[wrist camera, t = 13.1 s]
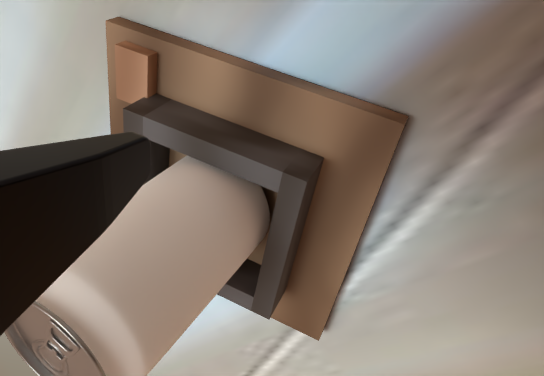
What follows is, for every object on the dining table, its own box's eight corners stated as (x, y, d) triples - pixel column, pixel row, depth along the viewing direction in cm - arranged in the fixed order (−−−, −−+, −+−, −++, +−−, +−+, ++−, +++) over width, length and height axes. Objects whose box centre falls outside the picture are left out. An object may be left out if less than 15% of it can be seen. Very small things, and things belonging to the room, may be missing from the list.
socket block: (408, 116, 20) (394, 148, 18) (323, 329, 30) (305, 371, 27) (118, 16, 24) (69, 31, 21) (124, 234, 33) (91, 263, 31)
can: (163, 191, 28) (-19, 326, 19) (206, 123, 24) (-4, 256, 15) (239, 262, 28) (92, 432, 19) (295, 207, 24) (140, 393, 15)
